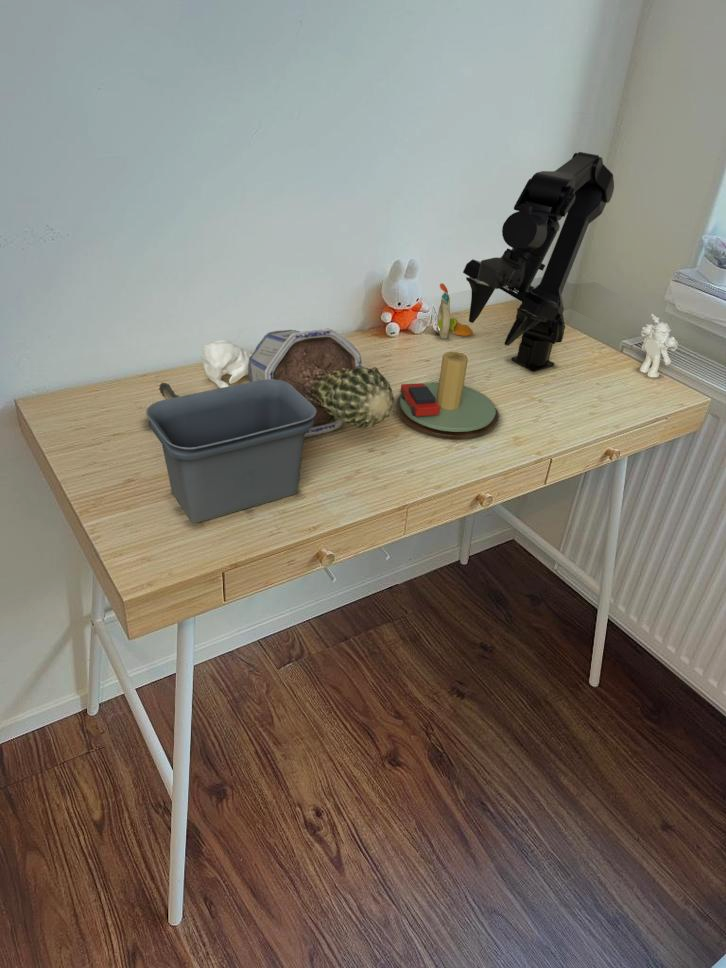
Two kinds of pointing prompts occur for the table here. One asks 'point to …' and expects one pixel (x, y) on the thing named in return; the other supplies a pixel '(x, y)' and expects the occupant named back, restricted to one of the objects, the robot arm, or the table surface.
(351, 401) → the potted plant
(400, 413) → the display stand
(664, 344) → the white character figurine
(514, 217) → the robot arm
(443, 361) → the turntable
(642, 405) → the table surface
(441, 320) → the rattle
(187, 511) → the storage bin
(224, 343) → the white crumpled lump
